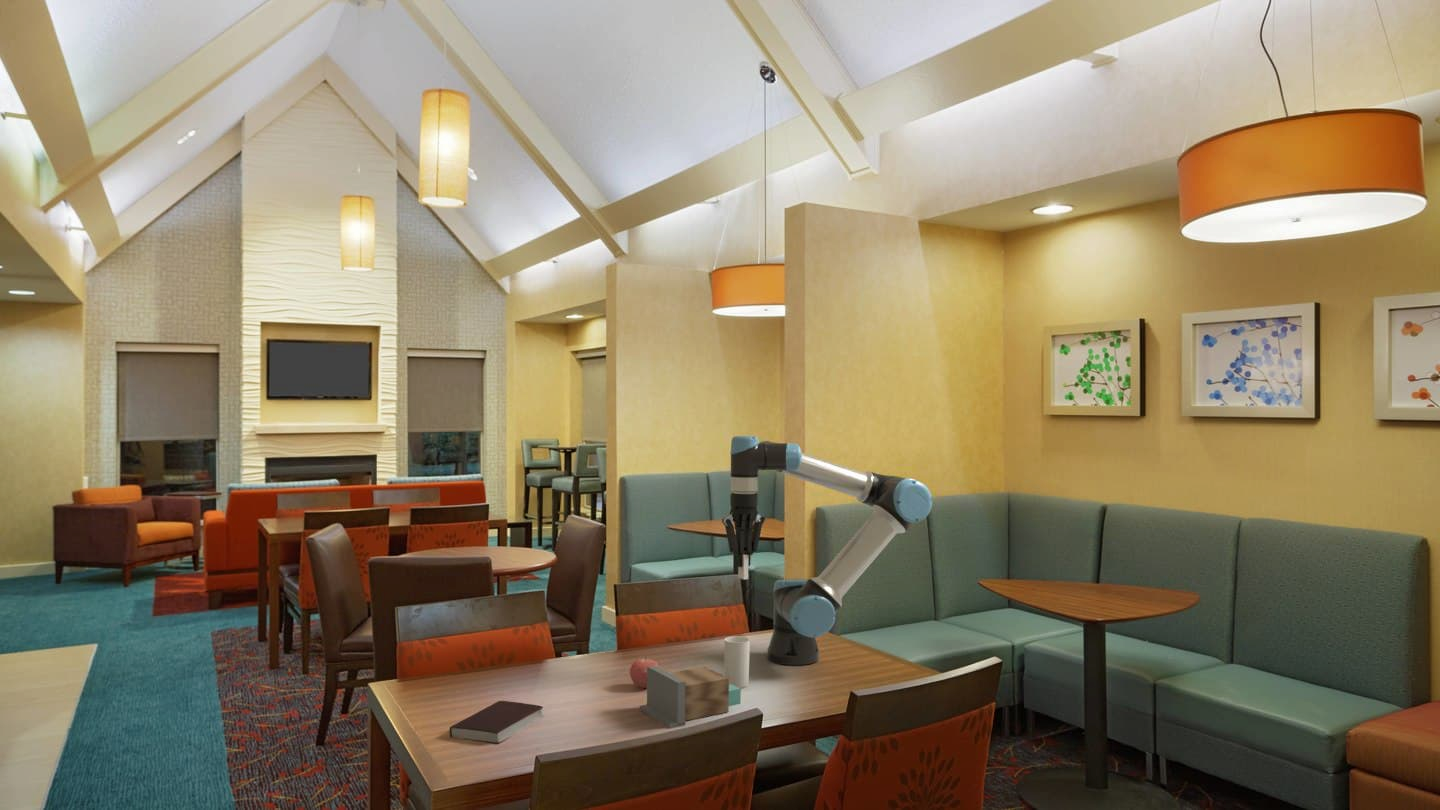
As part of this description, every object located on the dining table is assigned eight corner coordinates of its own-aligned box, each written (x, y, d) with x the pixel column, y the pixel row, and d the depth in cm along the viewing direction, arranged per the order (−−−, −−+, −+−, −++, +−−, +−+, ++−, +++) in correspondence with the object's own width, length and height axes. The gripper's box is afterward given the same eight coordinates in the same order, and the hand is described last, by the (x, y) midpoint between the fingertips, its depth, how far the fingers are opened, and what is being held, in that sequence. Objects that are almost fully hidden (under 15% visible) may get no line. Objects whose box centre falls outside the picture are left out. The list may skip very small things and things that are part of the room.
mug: (753, 687, 235) (754, 641, 235) (730, 690, 232) (730, 643, 232) (737, 676, 244) (737, 632, 244) (714, 679, 241) (715, 634, 242)
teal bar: (731, 700, 225) (731, 684, 225) (740, 705, 222) (740, 688, 222) (683, 709, 218) (683, 693, 218) (691, 714, 214) (691, 697, 214)
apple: (663, 685, 236) (664, 654, 236) (650, 693, 229) (650, 662, 229) (639, 681, 239) (639, 651, 239) (624, 689, 232) (625, 658, 232)
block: (704, 698, 225) (704, 666, 225) (728, 711, 215) (728, 678, 215) (662, 707, 218) (662, 674, 218) (685, 720, 209) (685, 686, 209)
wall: (654, 706, 219) (654, 665, 219) (685, 724, 206) (685, 681, 206) (639, 709, 217) (639, 667, 217) (669, 728, 204) (670, 684, 204)
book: (448, 739, 198) (448, 724, 198) (498, 711, 216) (498, 698, 216) (497, 747, 193) (497, 732, 193) (544, 718, 212) (544, 704, 212)
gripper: (755, 490, 253) (754, 574, 252) (716, 492, 246) (715, 578, 245) (771, 492, 246) (770, 578, 246) (731, 494, 239) (730, 583, 239)
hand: (743, 578), depth 246 cm, fingers closed
